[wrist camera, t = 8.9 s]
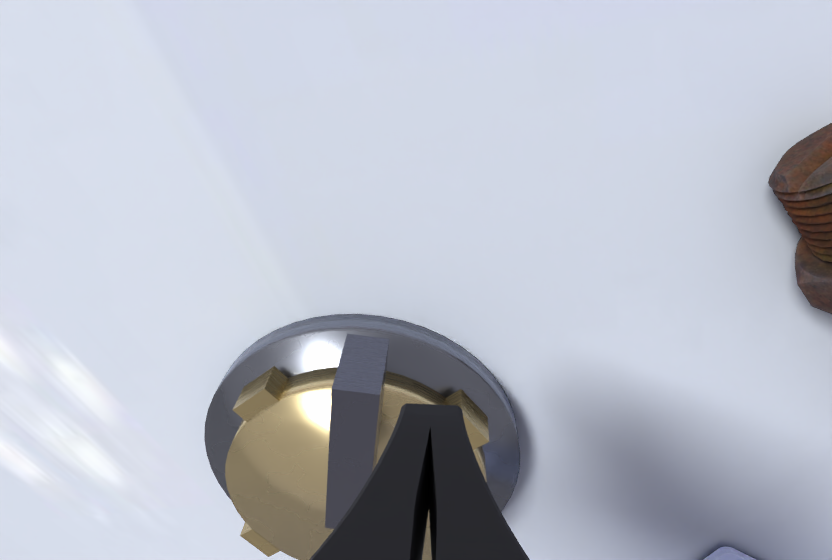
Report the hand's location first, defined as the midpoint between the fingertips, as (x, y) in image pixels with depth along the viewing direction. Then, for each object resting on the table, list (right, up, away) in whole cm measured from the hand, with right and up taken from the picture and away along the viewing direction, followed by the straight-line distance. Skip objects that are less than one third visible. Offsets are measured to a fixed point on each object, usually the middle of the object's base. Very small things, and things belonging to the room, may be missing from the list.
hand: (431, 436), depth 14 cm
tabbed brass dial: (-3, -5, +12) cm, 13 cm away
